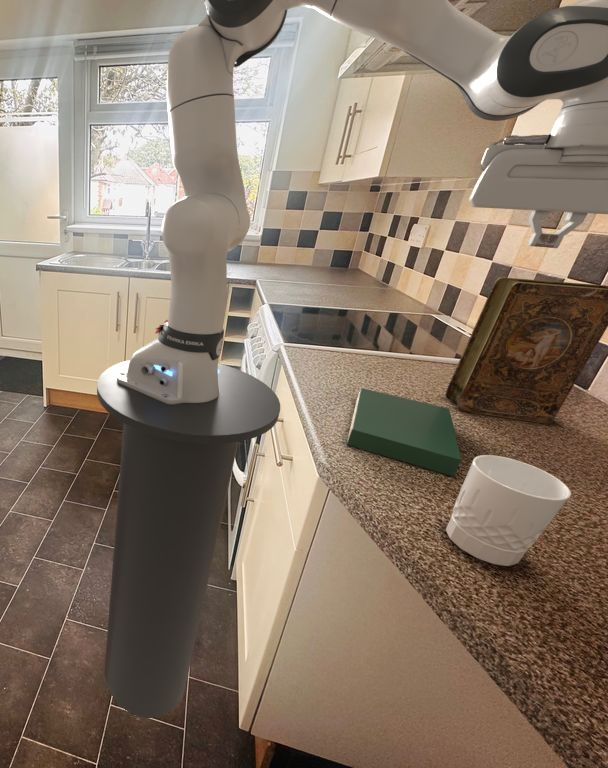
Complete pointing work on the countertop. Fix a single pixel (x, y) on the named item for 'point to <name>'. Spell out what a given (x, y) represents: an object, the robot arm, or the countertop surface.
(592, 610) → the countertop surface
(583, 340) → the book
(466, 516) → the white cup
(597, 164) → the robot arm
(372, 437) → the hardback
